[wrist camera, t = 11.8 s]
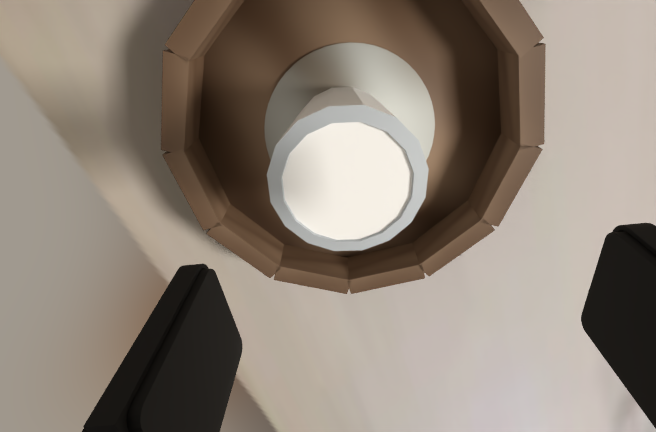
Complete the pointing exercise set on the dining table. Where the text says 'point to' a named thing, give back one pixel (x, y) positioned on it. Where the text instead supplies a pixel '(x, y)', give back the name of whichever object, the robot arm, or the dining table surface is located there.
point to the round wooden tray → (371, 77)
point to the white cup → (347, 172)
